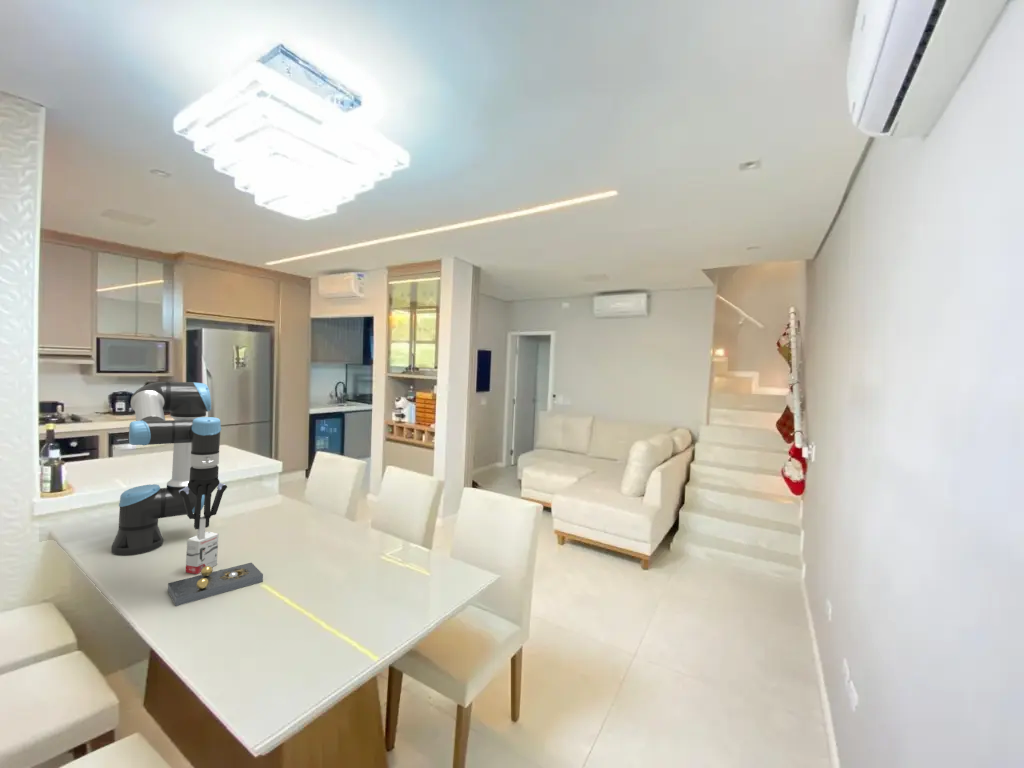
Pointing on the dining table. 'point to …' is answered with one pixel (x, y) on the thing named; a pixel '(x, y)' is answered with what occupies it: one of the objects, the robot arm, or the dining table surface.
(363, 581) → the dining table surface
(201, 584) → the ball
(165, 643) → the dining table surface
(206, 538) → the ink box
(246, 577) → the plate
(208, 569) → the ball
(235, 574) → the steel ball
